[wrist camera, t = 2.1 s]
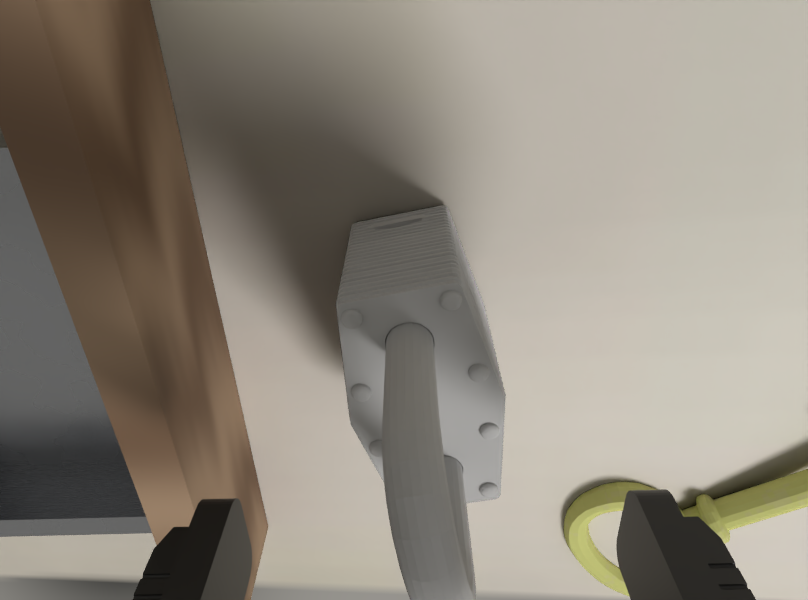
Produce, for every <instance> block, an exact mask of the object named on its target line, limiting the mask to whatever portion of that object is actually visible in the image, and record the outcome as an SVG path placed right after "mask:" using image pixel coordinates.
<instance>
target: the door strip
mask: <svg viewBox="0 0 808 600" xmlns="http://www.w3.org/2000/svg"><path fill="white" fill-rule="evenodd" d="M0 128H1V131H2V133H3V136H4V139H5V141H6V144H7V147H8V150H9V152H10V155H11V158H12V160H13V163H14V166H15V168H16V171H17V174H18V176H19V179H20V182H21V184H22V187H23V190H24V192H25V195H26V198H27V200H28V203H29V206H30V208H31V211H32V214H33V216H34V219H35V222H36V224H37V227H38V230H39V232H40V235H41V238H42V240H43V243H44V246H45V248H46V251H47V254H48V256H49V259H50V262H51V264H52V267H53V270H54V272H55V275H56V278H57V280H58V283H59V286H60V288H61V291H62V294H63V296H64V299H65V302H66V304H67V307H68V310H69V312H70V315H71V318H72V320H73V323H74V326H75V328H76V331H77V334H78V336H79V339H80V342H81V344H82V347H83V350H84V352H85V355H86V358H87V360H88V363H89V366H90V368H91V371H92V374H93V376H94V379H95V382H96V384H97V387H98V390H99V392H100V395H101V398H102V400H103V403H104V406H105V408H106V411H107V414H108V416H109V419H110V422H111V424H112V427H113V430H114V432H115V435H116V438H117V440H118V443H119V446H120V448H121V451H122V454H123V456H124V459H125V462H126V464H127V467H128V470H129V472H130V475H131V478H132V480H133V483H134V486H135V488H136V491H137V494H138V496H139V499H140V502H141V504H142V507H143V510H144V512H145V515H146V518H147V520H148V523H149V526H150V528H151V531H152V534H153V536H154V539H155V542H156V544H157V545H158V544H159V543H160V542H161V540H162V539H163V538H164V537H165V536H166V535H167V534H168V533H169V531H170V530H171V529H172V528H173V527H189V525H190V522H191V520H192V517H193V515H194V512H195V510H196V507H197V505H198V503H199V502H200V501H201V500H202V499H230V498H238V499H239V500H240V502H241V505H242V509H243V513H244V517H245V521H246V526H247V530H248V534H249V538H250V542H251V547H252V568H251V575H250V579H249V583H248V587H247V591H246V595H245V599H244V600H251V596H252V592H253V588H254V583H255V579H256V575H257V571H258V567H259V563H260V559H261V554H262V550H263V546H264V542H265V538H266V534H267V530H268V523H267V519H266V515H265V510H264V506H263V501H262V497H261V492H260V488H259V483H258V479H257V475H256V470H255V466H254V461H253V457H252V452H251V448H250V443H249V439H248V435H247V430H246V426H245V421H244V417H243V412H242V408H241V404H240V399H239V395H238V390H237V386H236V381H235V377H234V372H233V368H232V364H231V359H230V355H229V350H228V346H227V341H226V337H225V332H224V328H223V324H222V319H221V315H220V310H219V306H218V301H217V297H216V292H215V288H214V284H213V279H212V275H211V270H210V266H209V261H208V257H207V252H206V248H205V244H204V239H203V235H202V230H201V226H200V221H199V217H198V213H197V208H196V204H195V199H194V195H193V190H192V186H191V181H190V177H189V173H188V168H187V164H186V159H185V155H184V150H183V146H182V141H181V137H180V133H179V128H178V124H177V119H176V115H175V110H174V106H173V101H172V97H171V93H170V88H169V84H168V79H167V75H166V70H165V66H164V61H163V57H162V53H161V48H160V44H159V39H158V35H157V30H156V26H155V22H154V17H153V13H152V8H151V4H150V0H0Z"/></svg>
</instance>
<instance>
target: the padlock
mask: <svg viewBox="0 0 808 600" xmlns="http://www.w3.org/2000/svg"><path fill="white" fill-rule="evenodd" d="M347 246H348V247H347V251H346V257H345V261H344V265H343V266H344V267H343V271H342V276H341V280H340V285H339V292H338V297H337V302H336V310H337V318H338V326H339V335H340V343H341V351H342V359H343V368H344V376H345V384H346V392H347V401H348V409H349V417H350V422H351V426H352V427H353V429H354V431H355V433H356V434H357V436H358V438H359V440H360V441H361V443H362V445H363V447H364V448H365V450H366V452H367V454H368V455H369V457H370V459H371V461H372V462H373V464H374V466H375V468H376V469H377V471H378V473H379V475H380V476H381V478H382V480H383V482H384V484H385V493H386V502H387V508H388V514H389V520H390V526H391V531H392V537H393V541H394V545H395V549H396V554H397V558H398V562H399V566H400V570H401V573H402V576H403V580H404V583H405V586H406V589H407V592H408V595H409V597H410V600H476V586H475V575H474V567H473V558H472V549H471V541H470V532H469V523H468V515H467V506H466V503H472V502H479V501H486V500H493V499H497V498H499V496H500V493H501V474H502V454H503V435H504V415H505V396H506V394H505V392H504V387H503V382H502V378H501V374H500V371H499V366H498V362H497V357H496V353H495V348H494V344H493V340H492V336H491V332H490V328H489V324H488V318H487V314H486V310H485V306H484V303H483V300H482V297H481V295H480V292H479V289H478V287H477V284H476V281H475V279H474V276H473V273H472V270H471V268H470V265H469V262H468V260H467V257H466V254H465V252H464V249H463V246H462V244H461V241H460V238H459V236H458V233H457V230H456V227H455V225H454V222H453V219H452V217H451V214H450V211H449V209H448V208H447V207H446V206H443V205H441V206H436V207H431V208H426V209H421V210H416V211H411V212H406V213H401V214H396V215H391V216H386V217H381V218H376V219H371V220H366V221H361V222H356V223H354V224H353V225H352V227H351V232H350V236H349V241H348V245H347Z"/></svg>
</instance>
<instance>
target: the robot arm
mask: <svg viewBox="0 0 808 600" xmlns="http://www.w3.org/2000/svg"><path fill="white" fill-rule="evenodd" d="M617 557H618V563H619V567H620V571H621V574H622V576H623V579H624V582H625V585H626V587H627V590H628V593H629V596H630V598H631V600H756V599H755V597H754V595H753V594H752V592H751V590H750V589H748V588H747V583H746V581H745V580H744V578H743V576H742V574H741V572H740V571H739V569H738V568H736V566H735V562H734V560H733V558H732V557H731V555H730V553H729V551H728V549H727V548H726V546H725V544H724V542H723V541H722V539H721V537H720V536H718V535H717V534H716V533H715V532H714V531H713V530H712V529H711V528H710V527H709V526H708V525H707V524H706V523H705V522H704V521H703V520H702V519H700V518H699V517H698V516H693V517H683V515H682V513H681V511H680V509H679V507H678V505H677V503H676V501H675V499H674V498H673V496H672V494H671V493H670V492H669V491H668V490H630V491H628V492H627V494H626V498H625V503H624V507H623V512H622V517H621V522H620V527H619V532H618V537H617ZM251 568H252V547H251V542H250V538H249V534H248V530H247V526H246V521H245V517H244V513H243V509H242V505H241V502H240V500H239V499H238V498H230V499H202V500H201V501H200V502H199V503H198V505H197V507H196V510H195V512H194V515H193V517H192V520H191V522H190V525H189V527H173V528H172V529H171V530H170V531H169V533H168V534H167V535H166V536H165V537H164V538H163V539H162V540H161V542H160V543H159V544H158V545H157V546H156V547H155V548H154V550H153V552H152V554H151V557H150V559H149V561H148V563H147V566H146V568H145V570H144V572H143V578H142V579H140V582H139V584H138V586H137V589H136V591H135V593H134V599H133V600H244V599H245V595H246V591H247V587H248V583H249V579H250V575H251Z"/></svg>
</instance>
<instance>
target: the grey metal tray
mask: <svg viewBox="0 0 808 600" xmlns="http://www.w3.org/2000/svg"><path fill="white" fill-rule="evenodd" d="M130 533H152V531H151V528H150V526H149V523H148V520H147V518H146V515H145V512H144V510H143V507H142V504H141V502H140V499H139V496H138V494H137V491H136V488H135V486H134V483H133V480H132V478H131V475H130V472H129V470H128V467H127V464H126V462H125V459H124V456H123V454H122V451H121V448H120V446H119V443H118V440H117V438H116V435H115V432H114V430H113V427H112V424H111V422H110V419H109V416H108V414H107V411H106V408H105V406H104V403H103V400H102V398H101V395H100V392H99V390H98V387H97V384H96V382H95V379H94V376H93V374H92V371H91V368H90V366H89V363H88V360H87V358H86V355H85V352H84V350H83V347H82V344H81V342H80V339H79V336H78V334H77V331H76V328H75V326H74V323H73V320H72V318H71V315H70V312H69V310H68V307H67V304H66V302H65V299H64V296H63V294H62V291H61V288H60V286H59V283H58V280H57V278H56V275H55V272H54V270H53V267H52V264H51V262H50V259H49V256H48V254H47V251H46V248H45V246H44V243H43V240H42V238H41V235H40V232H39V230H38V227H37V224H36V222H35V219H34V216H33V214H32V211H31V208H30V206H29V203H28V200H27V198H26V195H25V192H24V190H23V187H22V184H21V182H20V179H19V176H18V174H17V171H16V168H15V166H14V163H13V160H12V158H11V155H10V152H9V150H8V147H7V144H6V141H5V139H4V136H3V133H2V131H1V128H0V537H6V536H48V535H89V534H130Z"/></svg>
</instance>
